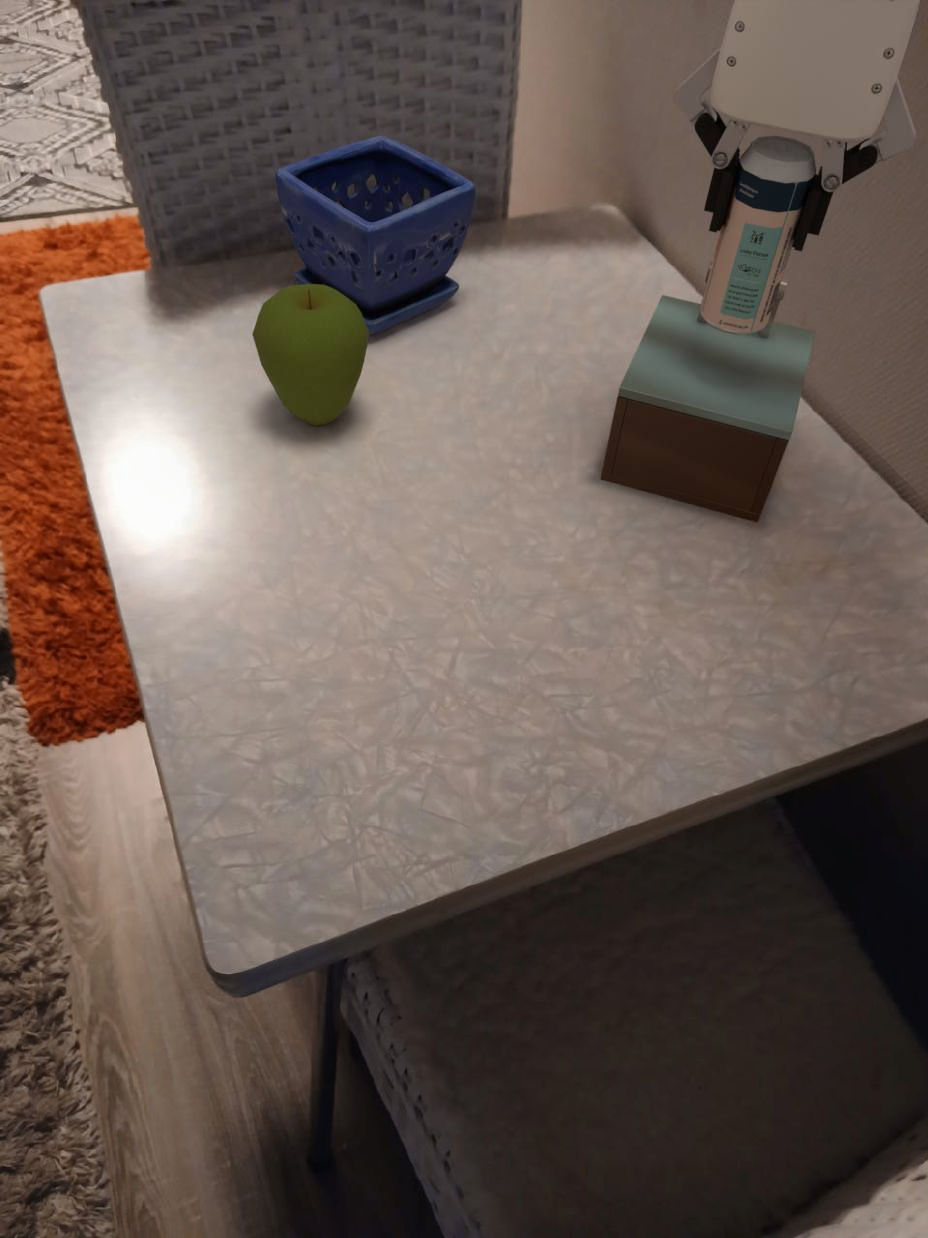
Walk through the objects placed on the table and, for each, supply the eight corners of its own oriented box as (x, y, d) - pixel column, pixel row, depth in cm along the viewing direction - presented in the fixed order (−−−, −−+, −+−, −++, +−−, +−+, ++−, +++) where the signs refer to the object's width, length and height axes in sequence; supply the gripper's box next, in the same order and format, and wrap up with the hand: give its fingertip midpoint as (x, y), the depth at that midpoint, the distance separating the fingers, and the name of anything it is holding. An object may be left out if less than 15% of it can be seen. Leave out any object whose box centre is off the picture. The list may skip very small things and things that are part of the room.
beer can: (745, 299, 71) (795, 130, 63) (778, 334, 69) (836, 161, 60) (686, 307, 70) (729, 135, 61) (718, 343, 67) (768, 168, 58)
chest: (640, 387, 86) (658, 307, 80) (782, 423, 84) (811, 344, 78) (600, 478, 77) (617, 396, 72) (757, 522, 75) (788, 441, 69)
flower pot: (475, 305, 94) (484, 181, 85) (370, 355, 87) (368, 226, 78) (383, 251, 99) (382, 130, 91) (278, 294, 93) (267, 168, 84)
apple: (243, 427, 79) (225, 298, 71) (302, 376, 84) (292, 250, 76) (334, 463, 77) (326, 334, 68) (389, 408, 82) (388, 282, 73)
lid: (660, 303, 81) (675, 238, 77) (812, 339, 78) (836, 274, 74) (617, 396, 71) (631, 328, 67) (788, 440, 69) (814, 373, 65)
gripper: (1024, -93, 52) (892, 236, 65) (709, -139, 55) (646, 183, 69) (1026, -59, 47) (884, 288, 60) (682, -112, 50) (620, 229, 64)
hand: (758, 229), depth 64 cm, fingers closed on beer can, 4 cm apart
